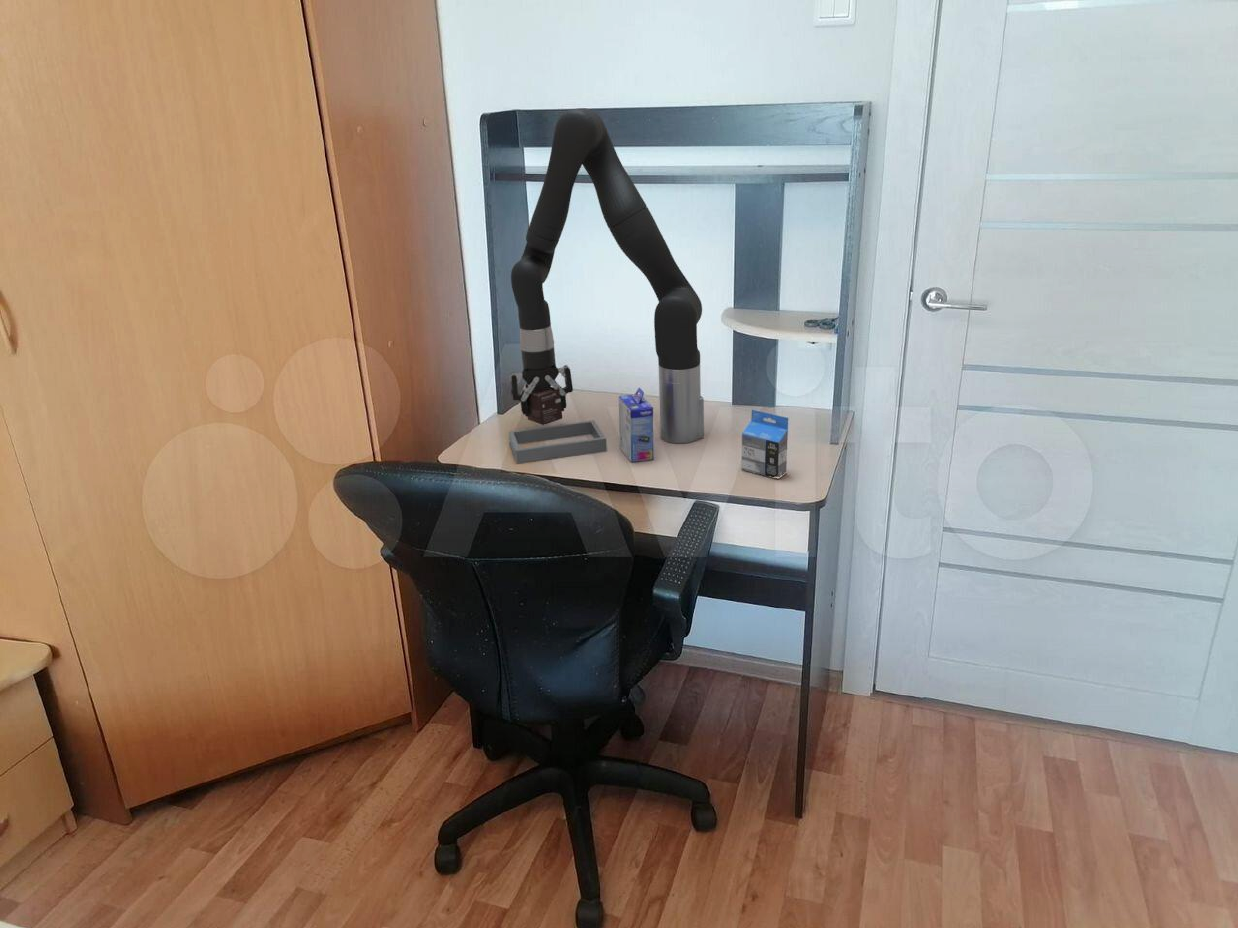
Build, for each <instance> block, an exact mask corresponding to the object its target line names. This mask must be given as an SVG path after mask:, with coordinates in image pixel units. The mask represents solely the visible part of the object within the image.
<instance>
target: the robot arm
mask: <svg viewBox="0 0 1238 928" xmlns="http://www.w3.org/2000/svg"><path fill="white" fill-rule="evenodd" d="M605 125H606V124H605V123H604V121H603V119H602V118H601V116H600V115H599V114H598V113H597V112H595V111H594V110H592V109H589V108H585V107H583V108H582V107H581V108H572V109H569V110H567V111H565V112H564V113H562V114H561V115H560V117H559V118H558V119H557V121H556V124H555V127H554V132H553V136H552V137H553V138H552V143H551V150H550V157H549V160H548V161H549V162H548V165H547V169H546V174H545V177H544V180H543V184H542V187H541V191H540V194H539V196H538V199H537V202H536V205H535V208H534V211H533V214H532V215H531V216H532V217H531V220H530V223H529V224H528V225H529V226H528V228H527V230H526V236H525V240H526V244H525V247H524V250H523V253H522V256H521V258H520V259H519V260H518V261H517V262H515V264H514V265H513V267H512V268H511V272H510V283H511V284H510V285H511V288H512V293H513V297H514V300H515V304H516V306H517V311H518V312H517V314H518V324H519V343H520V350H521V351H520V352H521V361H522V362H521V363H522V367H523V368H522V372H519V373H515V372H511V373H510V374H509V381H510V393H511V397H512V400H513V401H519V402H520V410H521V413H522V415H524V416H525V417H527V418H528V416H529V412H528V403H527V400H526V399H527V398H528V396H529V394H531V392H532V390H533V389H536V390H539V389H542V388H545V389H547V388H549V387H553V388H554V389H555V390H558V389H559V390H560V399H561V409H562V412H564V411H565V409H566V408H567V397H566V395H567V394H569V393H573V391H574V388H573V381H572V379H573V378H572V374H571V373H572V372H571V369H570V367H569V366H568V365H567V364H565V365H563V366H562V367H557V362H556V353H555V340H554V333H553V328H552V323H551V322H552V321H551V312H550V306H549V303H548V302H547V301H546V299H545V295H544V288H543V284H544V283H545V282H546V281H547V279H548V278H549V274H550V273H551V269H552V265H553V260H554V257H555V253H556V248H557V246H558V244H559V241H560V238H561V236H562V233H563V230H564V228H565V225H566V221H567V218H568V214H569V210H570V205H571V197H572V193H573V189H574V185H575V182H576V179H577V177H578V174H579V172H580V170H581V168H582V167H583V168H584V169H585V171H586V173H587V174H588V177H589V178H590V180H591V182H592V184H593V187H594V188H595V189H594V190H595V194H596V196H597V200H598V204H599V208H600V211H601V214H602V216H603V219H604V222H605V223H606V225H607V228H608V230H609V231H610V233H611V235H612V237H613V238H614V240H615V242H616V244H617V245H618V247H619V249H620V250H621V252H623V254H624V256H626V257H627V259H629V261H631V263H633V265H634V266H635V267H636V268H637V269H639V271H641V273H642V274H643V275H644V276H645V278H646V280H647V281H648V283H649V285H650V286H651V288H652V290H653V292H654V294H655V295H656V298H657V301H658V302H657V305H656V306H655V310H654V316H653V317H654V319H653V325H654V326H653V327H654V328H653V329H654V330H653V331H654V343H655V344H654V345H655V352H656V355H657V359H658V360H657V362H658V392H659V393H658V394H659V397H658V398H659V425H660V426H659V429H660V430H659V431H660V438H661V440H664V441H665V442H668V443H673V444H674V443H675V444H687V443H693V442H696V441H697V440H699V439H703V438H705V413H704V410H705V406H704V405H705V401H704V400H705V399H704V397H703V396H702V395H701V393H702V391H701V389H702V388H701V385H702V383H701V352H700V350H699V348H698V330H697V329H698V323H699V322H700V320H701V317H702V314H703V306H702V305H703V304H702V301H701V299H700V297H699V295H698V293H697V292H696V291H695V289H694V288H693V286H692V285H691V283H690V282H689V281H688V279H687V278H686V276H685V275H684V274H683V272H682V270H681V269H680V267H679V265H678V264H677V263H676V261H675V259H674V257H673V254H672V252H671V250H670V248H669V246H668V243H667V242H666V240H665V239H664V236H663V234H662V233H661V231H660V229H659V227H658V225H657V222H656V220H655V219H654V216H653V215H652V213H651V211H650V210H649V207H648V206H647V204H646V202H645V201H644V199H643V197H642V196H641V195H642V194H640V192H639V190H638V188H637V187H636V184H635V183H634V182H633V180H632V179H631V177H630V176H629V174H628V173H627V172H628V171H626V169H625V167H624V166H623V165H622V162H621V160H620V158H619V155H618V153H617V151H616V148H615V145H614V144H613V141H612V139H611V137H610V135H609V132H608V130H607V128H606V126H605ZM559 374H560V375H561V376H562V377H563V378H564V383H565V384H564V385H565V386H563V387H562V386H561V385H560V384H559V383H558V382H557V381H556V379H557V378H558V376H559ZM522 379H523V381H525V384H524V386H523V389H522V391H521V392H520V393H519V390H518V384H519V383H520V382H521V380H522Z"/></svg>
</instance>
